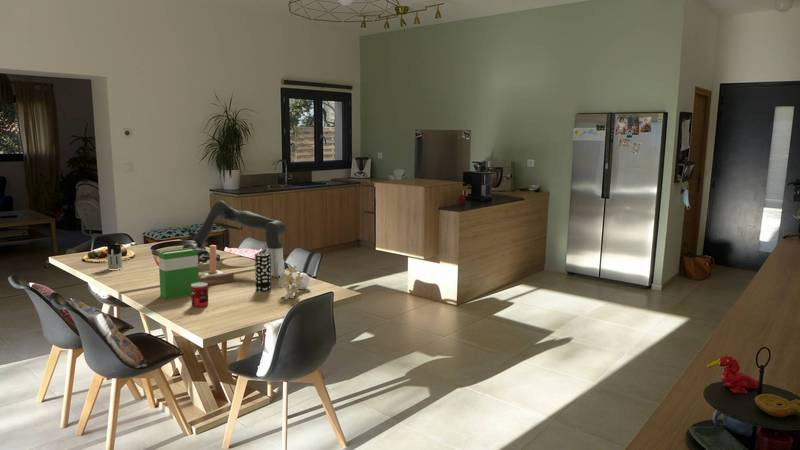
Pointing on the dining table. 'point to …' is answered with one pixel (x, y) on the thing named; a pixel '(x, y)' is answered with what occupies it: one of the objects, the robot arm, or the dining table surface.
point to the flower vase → (294, 281)
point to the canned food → (199, 294)
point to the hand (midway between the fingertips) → (211, 260)
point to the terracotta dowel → (212, 259)
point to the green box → (177, 272)
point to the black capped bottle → (114, 256)
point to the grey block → (207, 274)
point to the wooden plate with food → (103, 256)
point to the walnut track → (217, 279)
